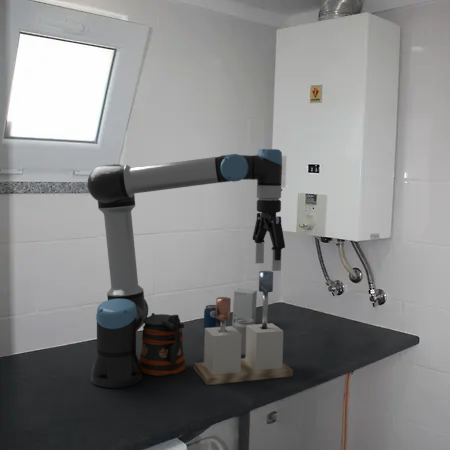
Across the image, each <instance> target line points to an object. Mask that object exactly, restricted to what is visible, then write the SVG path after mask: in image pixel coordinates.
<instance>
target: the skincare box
mask: <svg viewBox="0 0 450 450" xmlns="http://www.w3.org/2000/svg"><path fill="white" fill-rule="evenodd" d="M257 297H258V290H257V289H249V288H239V287H238V288H236V289H235V290H234V291H233V305H232V306H233V308H232V323H231V324H232V325H231V326H232V327H233V328H234V323H235V322H236V319H238V318H250V319H253V322H254V324H256V315H257V311H256V310H257Z"/></svg>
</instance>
